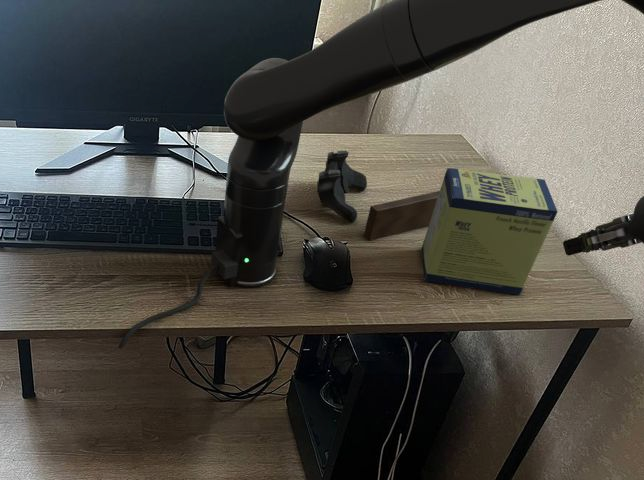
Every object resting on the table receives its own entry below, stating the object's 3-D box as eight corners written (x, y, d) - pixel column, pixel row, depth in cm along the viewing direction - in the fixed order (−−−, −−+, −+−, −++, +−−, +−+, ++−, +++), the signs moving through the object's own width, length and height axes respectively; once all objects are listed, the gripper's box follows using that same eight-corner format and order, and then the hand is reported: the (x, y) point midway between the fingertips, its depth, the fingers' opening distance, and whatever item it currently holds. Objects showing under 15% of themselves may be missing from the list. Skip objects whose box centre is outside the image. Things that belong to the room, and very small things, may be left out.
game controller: (336, 193, 141) (321, 148, 137) (370, 184, 138) (355, 138, 133) (322, 232, 130) (304, 184, 125) (357, 224, 126) (341, 174, 121)
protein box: (522, 296, 112) (560, 211, 102) (423, 282, 114) (450, 197, 104) (512, 261, 120) (546, 178, 110) (419, 248, 122) (445, 166, 112)
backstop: (369, 240, 123) (376, 210, 119) (363, 235, 124) (370, 206, 120) (456, 219, 130) (466, 190, 126) (450, 215, 131) (459, 186, 127)
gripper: (718, 172, 85) (593, 213, 101) (644, 191, 80) (525, 231, 96) (736, 232, 84) (607, 263, 101) (662, 254, 80) (540, 283, 96)
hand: (567, 247), depth 99 cm, fingers closed
